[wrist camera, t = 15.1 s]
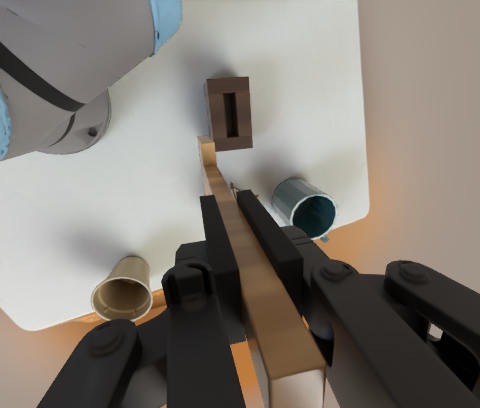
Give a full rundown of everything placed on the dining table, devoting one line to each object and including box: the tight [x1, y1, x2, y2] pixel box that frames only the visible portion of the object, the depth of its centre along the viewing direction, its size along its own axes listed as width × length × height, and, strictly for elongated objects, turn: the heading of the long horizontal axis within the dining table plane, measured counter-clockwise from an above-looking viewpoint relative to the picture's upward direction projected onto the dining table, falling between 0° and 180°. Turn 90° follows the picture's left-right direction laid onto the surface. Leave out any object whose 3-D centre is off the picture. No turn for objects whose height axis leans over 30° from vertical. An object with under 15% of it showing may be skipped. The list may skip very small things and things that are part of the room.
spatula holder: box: [204, 77, 253, 152], centre depth 40 cm, size 10×6×6 cm, turn 5°
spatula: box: [197, 135, 327, 408], centre depth 17 cm, size 6×1×26 cm, turn 4°
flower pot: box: [91, 257, 153, 321], centre depth 45 cm, size 9×9×9 cm
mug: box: [272, 178, 338, 242], centre depth 47 cm, size 12×9×10 cm
